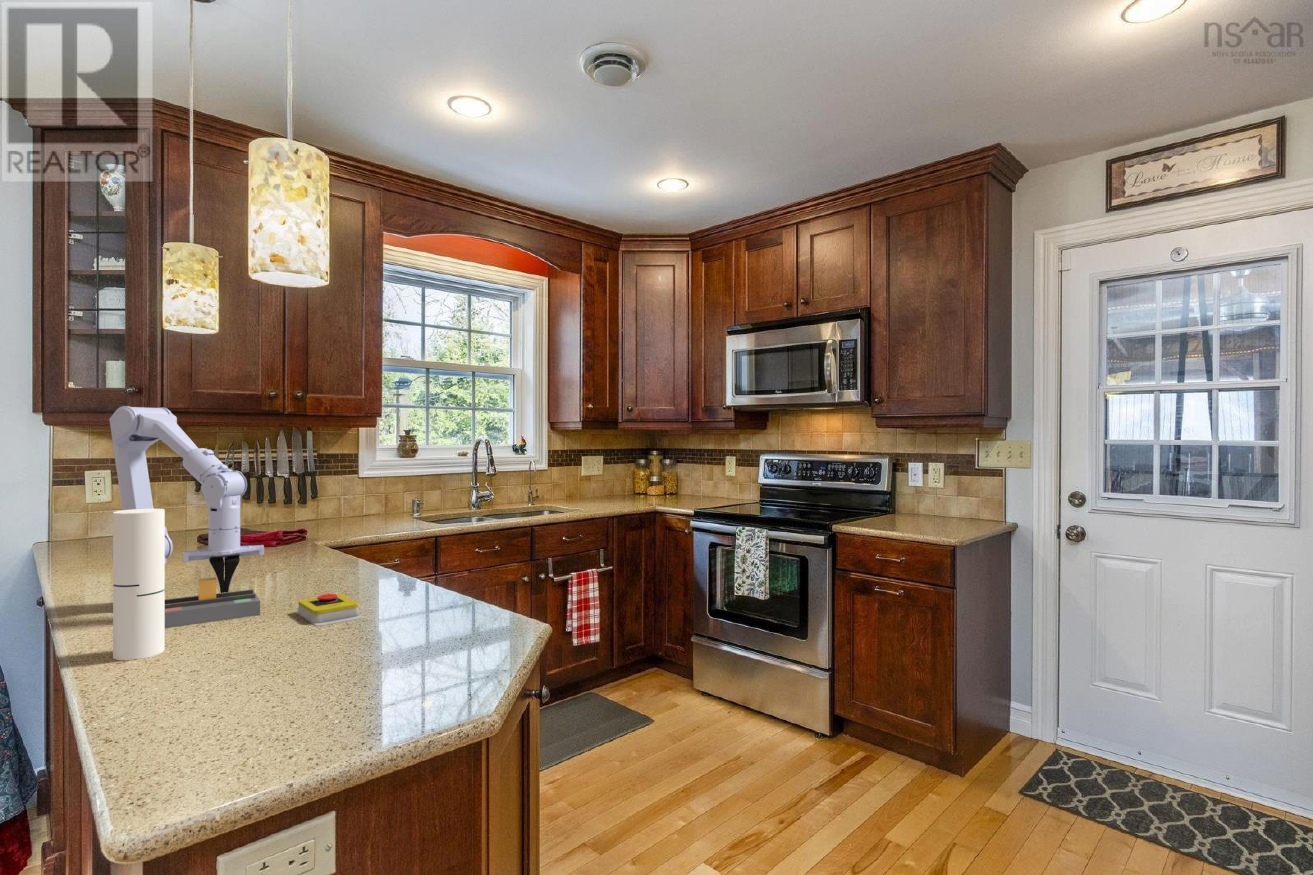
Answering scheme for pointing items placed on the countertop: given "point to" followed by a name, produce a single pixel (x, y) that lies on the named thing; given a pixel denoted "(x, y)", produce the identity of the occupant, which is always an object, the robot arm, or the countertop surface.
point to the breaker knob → (206, 588)
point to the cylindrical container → (138, 583)
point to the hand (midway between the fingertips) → (224, 591)
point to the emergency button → (329, 609)
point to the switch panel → (211, 608)
